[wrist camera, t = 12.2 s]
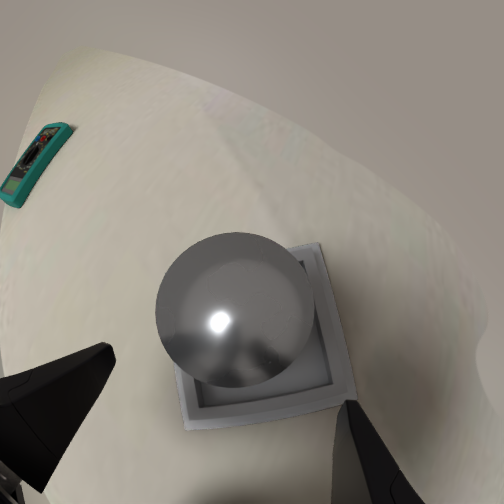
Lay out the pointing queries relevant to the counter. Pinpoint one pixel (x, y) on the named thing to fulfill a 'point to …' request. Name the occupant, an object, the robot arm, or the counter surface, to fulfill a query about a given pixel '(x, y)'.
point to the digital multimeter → (33, 163)
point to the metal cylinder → (234, 310)
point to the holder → (288, 381)
